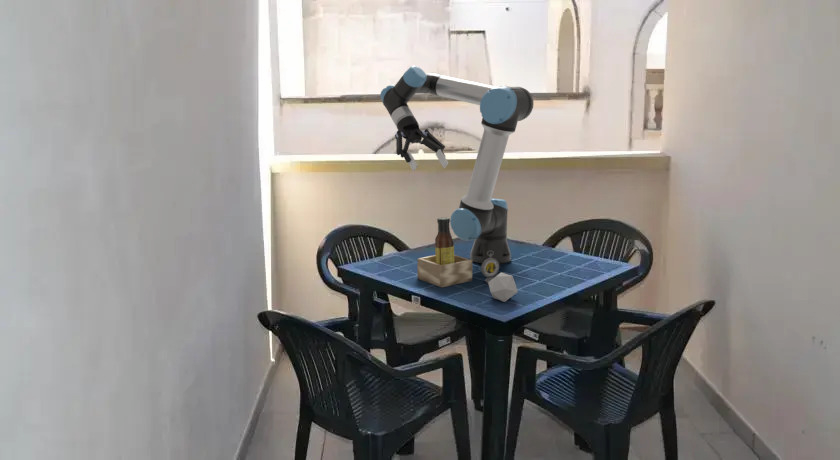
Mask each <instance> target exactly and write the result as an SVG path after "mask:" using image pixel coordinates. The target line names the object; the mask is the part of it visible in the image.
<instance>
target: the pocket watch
mask: <svg viewBox="0 0 840 460" xmlns="http://www.w3.org/2000/svg"><path fill="white" fill-rule="evenodd" d="M488 252H489V251H488ZM488 252H487V255H488ZM492 252H493V251H492ZM493 254H494V252H493ZM493 254H491V253H490V255H489V256H490V258H488V259H486V260H485V261H484V262H483V263H481V266H480V271H481V274H482V275H483V277H486V278H485V280H484V281H485V283H487V284H488V282H489V281H490V280H492V279H493V278H494V277H496V276H497V275H498V274H499V269H500V264H499V263H498V261H497V260H496V259H494V258H491V256H492V255H493Z"/></svg>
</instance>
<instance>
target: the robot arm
mask: <svg viewBox="0 0 840 460" xmlns="http://www.w3.org/2000/svg"><path fill="white" fill-rule="evenodd" d="M418 94H421V95H423V94H425V95H426V94H427V95H433V96H439V97H444V98H447V99H452V100H457V101H459V102H463V103H464V102H465V103H468V104H472V105H477V106H479V113H481V114H480V115H481V117H482V118H481V123H480V124H481V125H482V127H483V132H482V137H481V141H480V143H479V147H478V152H477V155H476V159H475V162H474V166H473V171H472V174H471V178H470V182H469V185H468V189H467V192H466V194H465V195H463V196H462V197H461V199H460V202H459V207H458V208H457V209H455V210H454V211H453V212H452V213H451V215H450V217H449V219H450V222H449V226H450V228H451V230H452V231H453V234H454V235H455V236H456V237H457V238H458V239H460V240H462V241H473V244H472V248H471V250H470V253H469V254H470V255H469V256H470V257H469V259H470V260H472V262H474V263H477V264H482V263H483V262H484V261H485V260H486V259H488V258H490V256H489V255H490V253H491V254H493V252H494V254H493V255H492V256H491V258H494V259H496V260H497V261H498V263H499V265H501V264H506V263H509V262H510V261H511V260H512V253H511V250H510V247H509V246H510V245H509V243H508V240H507V239H508V235H507V234H508V211H509V209H508V202H507V200H505V199H502V198H492V197H493V194H494V190H495V187H496V184H497V180H498V175H499V172H500V169H501V166H502V163H503V159H504V155H505V152H506V147H507V145H508V140H509V137H510V136H511V135H512V134H514V133H515V132H516V128H517V125H518V122H521V121H524V120H525V119H527V118H528V117H529V116H530V115H531V113H532V112H533V109H534V99H533V96H532V94H531V92H530V91H528V89H526V88H524V87H522V86H507V85H502V86H501V85H500V86H495V85H489V84H484V83H479V82H475V81H470V80H465V79H461V78H456V77H453V76H448V75H447V76H446V75H442V74H440V73H437V72H425V71H424V70H423V69H422V68H421V67H418V66H416V65H412V66H409V68H408V69H407V70H406V71H405V72H404V73H403V75H402V76H401V77H400V79H398V81H397V82H396V83H395V85H394V84H391V85H388V86H386V87H385V88H383V89H382V90H381V91H380V96H379V97H380V99H381V100H380V101H382V104H383V106H384V107H385V109H386V110H387V113H388V114H389V115H390V118H391V120H392V121H393V123H394V125H395V127H396V129H397V131H396V133H395V135H394V138H395V141H396V147H395V148H396V151H395V152H396V155H397V156H400V158H402V159H404V160H405V161H406V163H408V164H409V165H408V166H409V167H410V169H411V170H412V172H416V170H417V168H418V163H417V162H416V160H415V158H414V156H413V154H412V153H411V151H409V150H408V149H409V147H410V144H420V145H424V146H425V147H427V148H429V150H431V151H433V152H434V153H435V157H436V159H438V162H439V163H440V165H441V166H442V168H443V169H446V167H447V166H448V164H449V161H448V159H447V158H446V154H445V153H444V149H445V148H446V146H445V144H443V143H442V141H440V140H439V139H437V138H436V137H435V136H434V135H433V134H432V133H431V132H430V130H429V129H428V128H425V129H424V130H422V129H420V124H419V122H418V120H417V119H416V117H415V116H414V114H413V111H412V110H411V108H410V107H409V105H408V103H409V101H410V100H411V99H412V98H413V97H414V95H418ZM403 139H404V140H405V141H404V145H403ZM488 251H489V252H488ZM492 251H493V252H492ZM487 252H488V255H487Z"/></svg>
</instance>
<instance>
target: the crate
mask: <svg viewBox="0 0 840 460" xmlns="http://www.w3.org/2000/svg"><path fill="white" fill-rule="evenodd" d="M454 262H455V263H451V264H446V265H440V264H437V263H436V255H435V254H433V255H428V256H424V257H419V258H417V280H421V281H423V282H425V283H428V284H431V285H435V286H437V287H439V288H445V287H450V286H455V285H458V284H459V285H460V284H463V283H468V282H472V281H473V261H472V260H471V259H470V258H466V257H463V256H460V255H456V254H454Z"/></svg>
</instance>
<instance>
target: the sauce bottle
mask: <svg viewBox="0 0 840 460" xmlns="http://www.w3.org/2000/svg"><path fill="white" fill-rule="evenodd" d="M436 220H437V221H436V222H437V226H438V227H437V235H436V236H435V238H434V240H435V246H434V251H435V252H434V253H435V254H434V255H436V263H437V264H440V265H446V264H451V263H455V262H454V255H455V243H454V241H453V237H452V234H451V231H450V217H448V216H447V217H446V216H444V217H443V216H442V217H438V218H437V219H436Z"/></svg>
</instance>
